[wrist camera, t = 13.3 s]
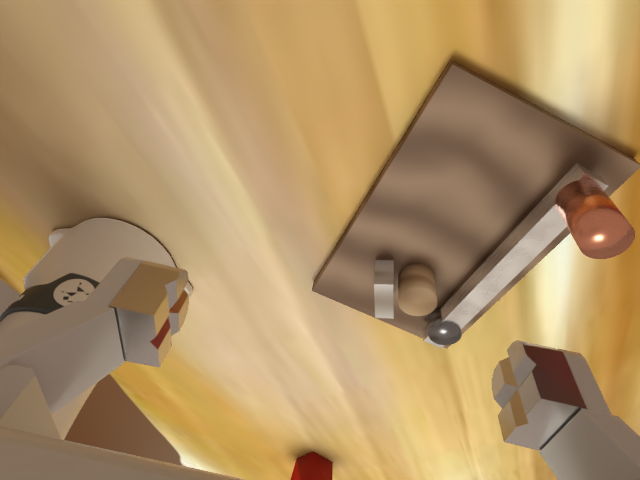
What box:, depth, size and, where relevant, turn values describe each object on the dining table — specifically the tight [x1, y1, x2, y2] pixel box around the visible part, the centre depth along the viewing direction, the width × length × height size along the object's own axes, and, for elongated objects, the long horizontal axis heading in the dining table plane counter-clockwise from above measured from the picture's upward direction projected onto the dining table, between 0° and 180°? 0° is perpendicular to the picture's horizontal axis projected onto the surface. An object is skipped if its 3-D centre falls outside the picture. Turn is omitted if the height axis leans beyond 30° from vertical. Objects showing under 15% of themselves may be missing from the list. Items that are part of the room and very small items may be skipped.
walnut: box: [398, 264, 437, 316], centre depth 46 cm, size 4×4×4 cm
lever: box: [423, 163, 635, 348], centre depth 40 cm, size 24×4×8 cm, turn 157°
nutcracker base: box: [312, 60, 640, 348], centre depth 43 cm, size 29×19×6 cm, turn 156°
